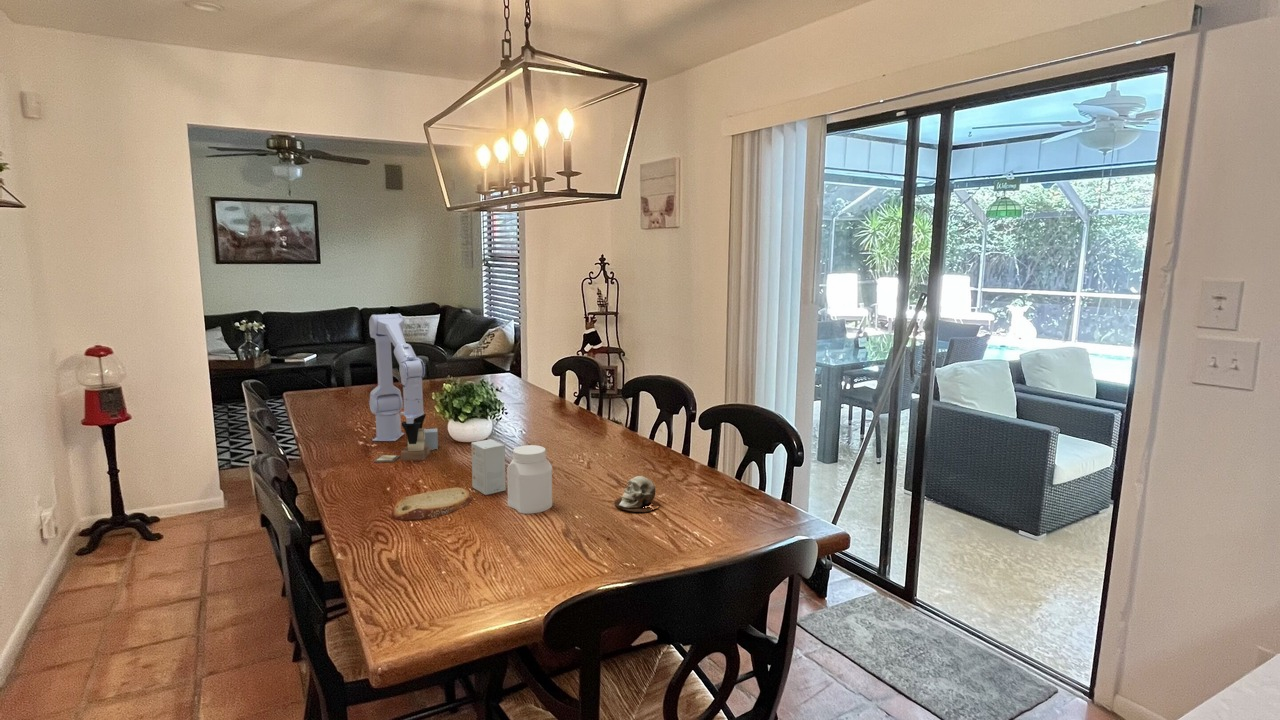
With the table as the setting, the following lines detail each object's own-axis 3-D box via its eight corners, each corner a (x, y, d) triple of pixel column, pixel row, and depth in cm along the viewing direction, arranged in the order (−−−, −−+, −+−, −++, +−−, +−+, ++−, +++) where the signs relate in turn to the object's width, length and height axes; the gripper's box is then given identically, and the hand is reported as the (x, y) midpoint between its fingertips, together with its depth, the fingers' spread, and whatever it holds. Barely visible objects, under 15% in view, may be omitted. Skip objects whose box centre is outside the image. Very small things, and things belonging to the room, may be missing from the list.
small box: (506, 490, 187) (505, 444, 184) (485, 495, 183) (484, 449, 180) (492, 482, 193) (491, 438, 191) (471, 487, 189) (470, 442, 187)
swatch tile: (380, 456, 215) (380, 454, 215) (399, 456, 215) (399, 454, 215) (373, 462, 209) (373, 460, 209) (393, 462, 210) (393, 460, 209)
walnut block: (407, 454, 219) (407, 445, 219) (429, 454, 219) (429, 445, 219) (401, 461, 212) (400, 452, 212) (423, 461, 212) (423, 452, 212)
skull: (633, 515, 168) (617, 478, 172) (617, 531, 176) (602, 495, 180) (671, 503, 175) (655, 468, 179) (654, 519, 182) (639, 485, 187)
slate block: (423, 446, 227) (423, 429, 226) (437, 445, 228) (437, 428, 227) (423, 450, 223) (422, 432, 222) (437, 449, 224) (437, 431, 223)
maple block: (410, 447, 217) (409, 428, 216) (425, 446, 218) (424, 428, 217) (408, 451, 213) (407, 432, 212) (423, 450, 213) (422, 432, 212)
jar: (502, 503, 177) (501, 447, 175) (534, 495, 183) (533, 441, 181) (525, 516, 169) (524, 458, 166) (557, 507, 175) (557, 451, 172)
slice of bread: (473, 495, 184) (473, 481, 183) (462, 521, 166) (462, 506, 166) (406, 496, 182) (405, 482, 182) (387, 522, 165) (386, 508, 164)
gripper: (404, 393, 219) (406, 434, 221) (395, 403, 205) (397, 447, 207) (426, 393, 220) (428, 434, 222) (419, 403, 206) (421, 446, 208)
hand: (414, 440), depth 215 cm, fingers open, 7 cm apart
